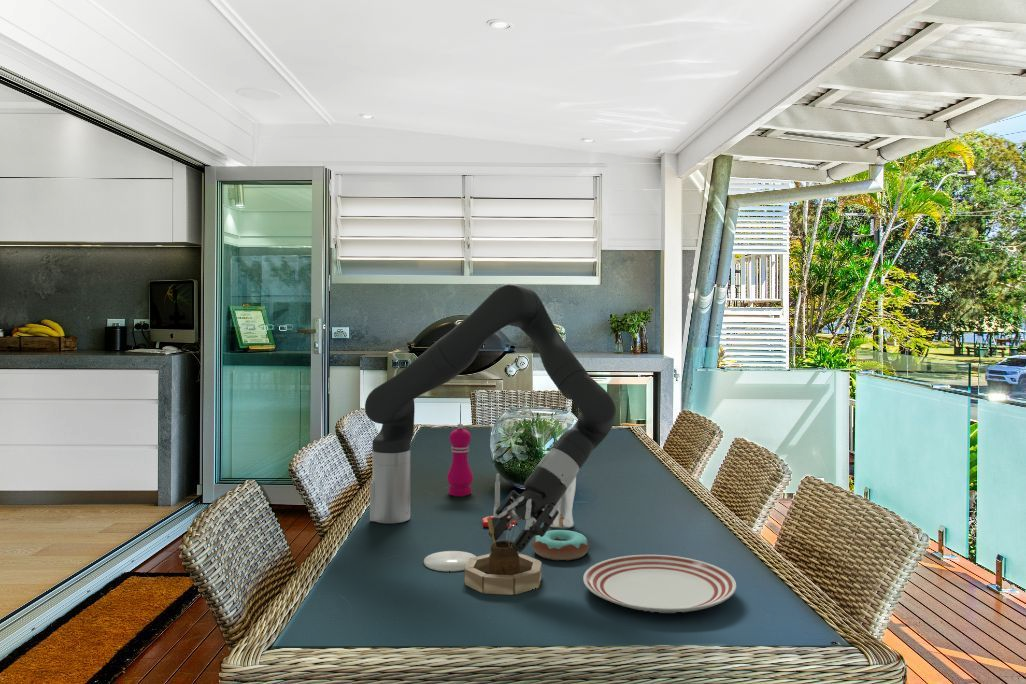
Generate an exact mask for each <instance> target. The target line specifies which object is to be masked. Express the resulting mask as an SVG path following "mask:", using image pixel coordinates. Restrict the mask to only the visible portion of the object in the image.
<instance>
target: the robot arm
mask: <svg viewBox="0 0 1026 684" xmlns="http://www.w3.org/2000/svg"><path fill="white" fill-rule="evenodd" d="M507 326H511V327H514V328H519V329H521V330H522V332H524V334H525V335H527V337H528V338H529V339H530V340H531V341H532V343H533V345H535V347H536V349H537V351H538V353H539V356H540V357H539V358H540V359H541V363H542V365H543V367H544V369H545V371H546V373H547V375H548V377H549V378H550V380H551V381H552V382H553V383H554V385H555V387H556V388H557V390H559V392H560V393H561V395H562V396H564V398H566V399H567V400H570V401H572V402H573V403H574V404H575V406H576V407H577V408H578V409H579V411H580V416H579V418H578V419H577V421H576V422H575V423H574V424H573V426H572V427H571V428H569V429H567V430H565V431H564V432H563V433H562V434H561V435H560V437H559V438H558V439H557V440H556V442H555V443H554V445H553V446H552V447H551V449H549V450H548V452H547V453H546V454H545V455H544V456H543V457H542V459H540V461H539V463H538V464H537V465H536V466H535V468H534V470H532V472H531V473H530V475H529V476H528V477H527V478H526V480H525V481H524V488H525V489H524V491H522V493H520V494H519V493H518V492H517V491H516V490H514V489H513V490H511V491H510V492H509V494H508V495H507V496H506V497H505V499H504V500H503V501H502V503H500V506H499V507H498V509H497V510H496V511H495V513H496V514H497V515H498V520H497V522H496V523H495V524H494V526H493V528H494V538H495V541H497V540H498V541H499V538H500V537H501V535H503V533H504V532H505V530H507V529H508V528H507V525H508V524H510V523H512V522H513V521H517V522H519V521H521V520H523V521H525V527H524V529H522V530H521V532H519V536H518V535H517V536H516V538H515V539H514V540H515V541H514V540H513V542H514V543H513V547H514V548H515V549H516V550H517V553H521V552H523V551H524V549H526V548H527V546H528V544H529V543H530V541H531V540H532V539H533V538H535V537H536V536H537V535H539V536H540V537H543V536H544V535H545V533H546V532H547V531H549V530H550V529H549V528H551V527H550V526H551V524H552V523H553V521H554V520H555V518H556V516H557V515H558V513H559V511H558V510H557V509H556V508H555V507H554V506H555V505H556V504H557V503H558V501H559V500H560V498H561V497H562V496H563V494H564V493H565V491H566V490H567V489H568V487H569V486H570V484H571V483H572V482H573V480H574V479H575V477H576V478H577V475H578V473H579V471H580V470H581V469H582V467H583V466H584V464H585V463H586V461H587V460H588V459H589V456H590V455H591V454H592V452H593V451H594V450H595V449H596V448H597V447H598V446H599V445H601V442H602V441H604V439H606V437H607V436H608V435H609V433H610V432H611V430H612V428H613V426H614V424H615V423H614V422H615V419H616V412H617V408H616V404H615V402H614V400H613V397H611V396H610V395H611V394H609V393H608V392H607V390H606V389H604V388H603V387H602V386H601V384H599V382H597V381H596V380H594V379H593V378H592V377H591V376H590V374H589V373H588V371H587V370H586V369H585V367H584V366H583V365H582V363H581V362H580V361H579V360H578V358H577V357H576V356H575V354H574V353H573V352H572V350H571V349H570V348H569V347H568V345H567V344H566V342H565V341H564V339H563V338H562V336H561V334H560V333H559V331H558V330H557V328H556V326H555V324H554V322H553V321H552V319H551V317H550V315H549V313H548V311H547V310H546V307H545V305H544V304H543V302H542V299H541V298H540V296H539V295H538V294H537V293H536V291H535V290H533V289H531V288H528V287H526V286H524V285H523V286H522V285H520V284H517V283H505V284H502V285H500V286H499V287H497V288H496V289H495V290H494V291H492V293H491V294H489V295H488V297H486V298H485V299H484V300H483V302H482V303H480V305H479V306H477V308H475V309H474V311H472V313H470V314H469V315H468V316H467V317H466V318H465V319H463V320H462V321H460V323H458V324H456V325H455V326H454V328H452V329H451V330H449V331H448V332H447V333H446V334H444V335H443V336H442V337H440V338H439V339H438V340H437V341H435V342H434V343H433V344H432V345H431V346H429V347H428V348H427V349H426V350H425V351H424V352H422V353H421V354H420V355H419V356H417V357H416V358H415V359H414V360H413V361H412V362H411V363H409V364H408V365H407V366H406V367H405V368H404V369H403V370H401V371H400V372H398V373H397V374H396V375H394V376H393V377H391V378H390V379H388V380H386V381H385V382H383V383H382V384H379V385H378V386H376V387H374V388H373V389H372V391H370V392H369V394H368V395H367V397H366V399H365V403H364V411H365V415H366V417H367V418H368V419H369V420H370V421H371V422H373V423H375V424H382V425H381V429H380V431H379V433H378V434H377V435H376V436H375V437H374V438H373V440H372V445H371V447H372V454H371V455H372V456H371V457H372V459H371V461H372V480H371V481H370V482H369V522H376V523H378V524H399V523H405V522H407V521H409V520H410V519H411V443H412V440H413V437H414V433H415V432H414V431H415V430H414V428H415V399H416V398H418V397H419V396H421V395H423V394H425V393H428V392H430V391H432V390H434V389H436V388H438V387H440V386H442V385H444V384H446V383H448V382H450V381H451V380H452V379H455V378H456V377H457V376H459V374H461V373H462V372H463V371H465V370H466V369H467V368H468V367H470V366H471V365H472V363H473V362H474V361H475V360H476V358H477V356H478V354H479V352H480V349H481V348H482V346H483V344H484V343H485V342H486V341H487V340H488V339H489V338H490V337H491V336H493V335H495V334H496V333H497V332H499V331H500V330H502V329H504V328H505V327H507ZM505 508H506V510H504V509H505ZM503 510H504V511H503ZM508 516H510V517H509V518H507V517H508ZM542 524H543V526H542ZM541 526H542V527H541ZM488 536H489V537H490V538H491V539H492V540H493V538H492V534H490V531H488Z"/></svg>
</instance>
